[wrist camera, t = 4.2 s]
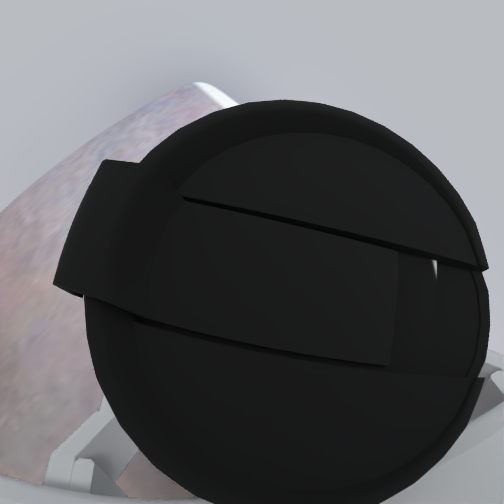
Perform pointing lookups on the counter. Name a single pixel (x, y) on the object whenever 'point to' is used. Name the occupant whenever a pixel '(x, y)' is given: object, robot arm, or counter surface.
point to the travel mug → (283, 305)
